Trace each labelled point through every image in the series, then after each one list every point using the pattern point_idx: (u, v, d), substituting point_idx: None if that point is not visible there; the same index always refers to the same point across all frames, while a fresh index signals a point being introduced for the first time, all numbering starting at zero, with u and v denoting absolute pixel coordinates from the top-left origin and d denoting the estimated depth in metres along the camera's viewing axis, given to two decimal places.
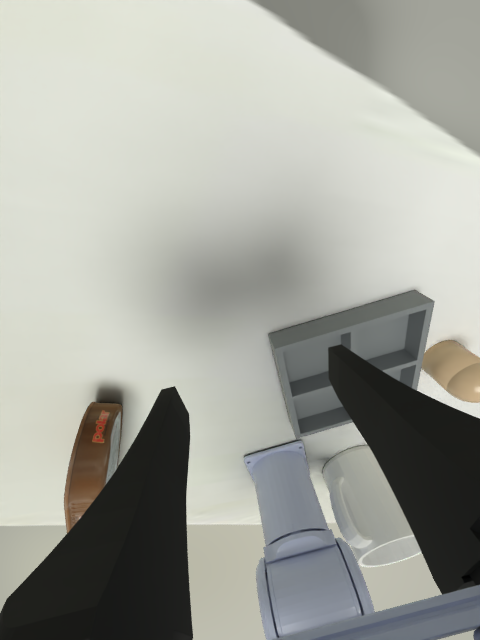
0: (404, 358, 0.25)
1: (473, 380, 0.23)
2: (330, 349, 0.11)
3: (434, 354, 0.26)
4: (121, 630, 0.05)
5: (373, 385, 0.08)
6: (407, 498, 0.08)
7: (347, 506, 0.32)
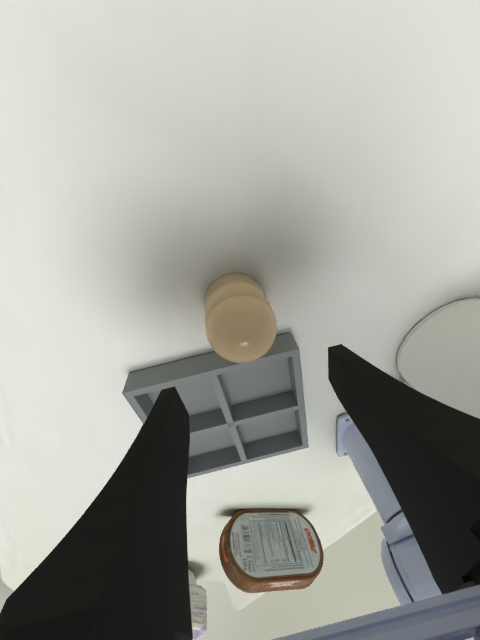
0: None
1: (222, 357, 0.15)
2: (330, 348, 0.11)
3: None
4: (121, 630, 0.05)
5: (373, 385, 0.08)
6: (407, 498, 0.08)
7: None
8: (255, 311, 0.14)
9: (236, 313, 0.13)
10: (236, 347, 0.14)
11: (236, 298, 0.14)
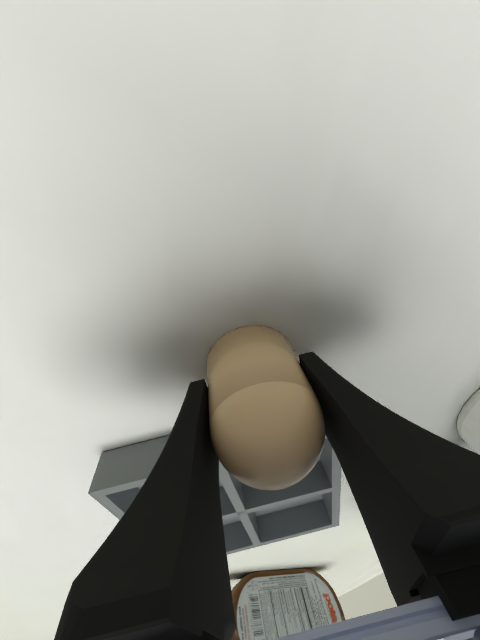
0: None
1: None
2: (300, 356, 0.11)
3: None
4: (188, 612, 0.05)
5: (334, 395, 0.08)
6: (366, 509, 0.08)
7: None
8: (296, 416, 0.08)
9: (264, 423, 0.08)
10: (264, 480, 0.08)
11: (261, 388, 0.08)
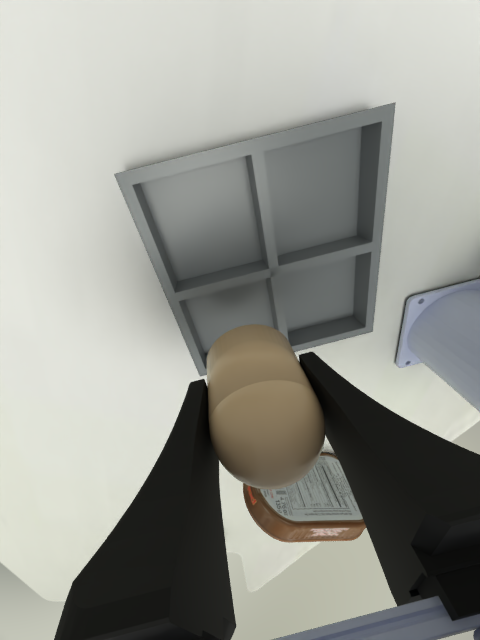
0: (252, 173, 0.13)
1: None
2: (300, 356, 0.11)
3: None
4: (188, 612, 0.05)
5: (334, 395, 0.08)
6: (366, 509, 0.08)
7: None
8: (296, 415, 0.08)
9: (264, 421, 0.08)
10: (264, 479, 0.08)
11: (262, 387, 0.08)
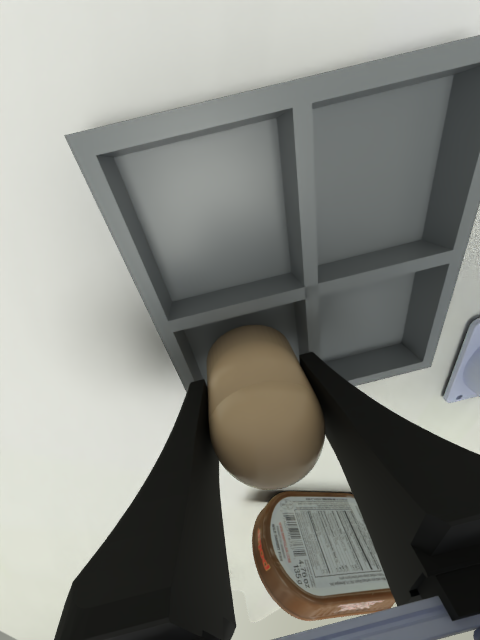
0: (288, 142, 0.08)
1: None
2: (300, 356, 0.11)
3: None
4: (189, 612, 0.05)
5: (334, 395, 0.08)
6: (366, 509, 0.08)
7: None
8: (296, 416, 0.08)
9: (264, 421, 0.08)
10: (263, 479, 0.08)
11: (262, 387, 0.08)
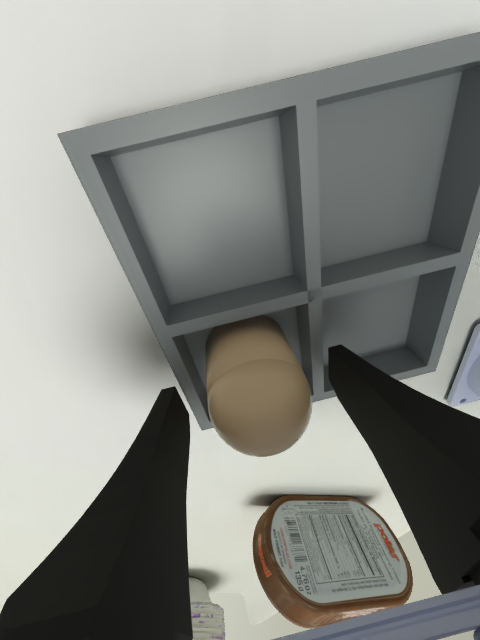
0: (291, 141, 0.08)
1: None
2: (330, 349, 0.11)
3: None
4: (121, 630, 0.05)
5: (373, 385, 0.08)
6: (407, 498, 0.08)
7: None
8: (284, 388, 0.09)
9: (256, 393, 0.09)
10: (255, 445, 0.09)
11: (254, 364, 0.09)
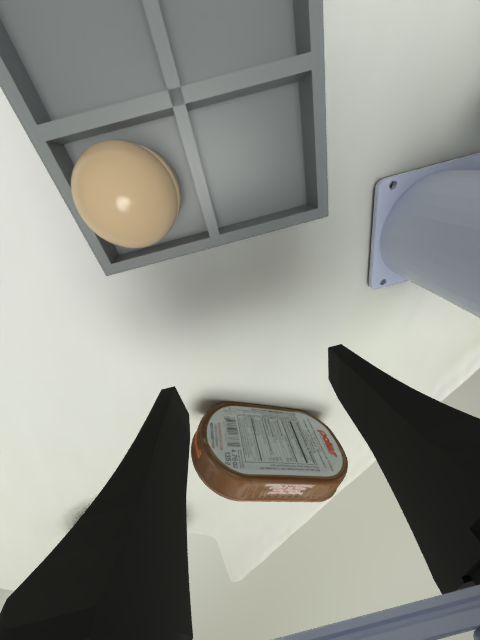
0: None
1: (99, 234, 0.11)
2: (330, 349, 0.11)
3: None
4: (121, 630, 0.05)
5: (373, 385, 0.08)
6: (407, 498, 0.08)
7: None
8: (126, 151, 0.10)
9: (97, 151, 0.09)
10: (99, 201, 0.10)
11: (106, 140, 0.10)
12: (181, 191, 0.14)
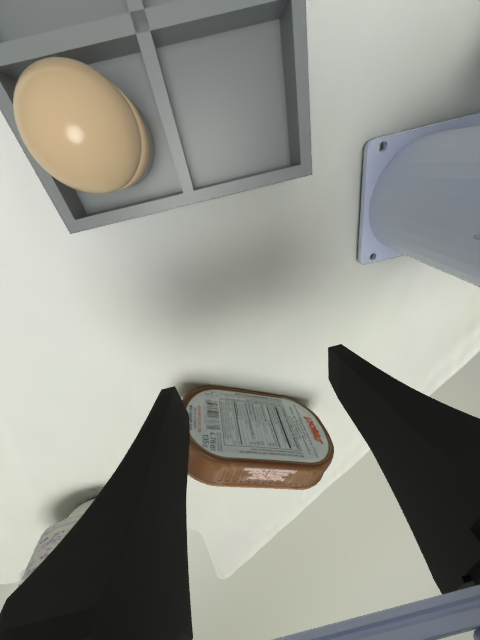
0: None
1: (49, 171, 0.10)
2: (330, 349, 0.11)
3: None
4: (121, 630, 0.05)
5: (373, 385, 0.08)
6: (407, 498, 0.08)
7: None
8: (74, 66, 0.08)
9: (38, 64, 0.08)
10: (41, 122, 0.08)
11: None
12: (152, 141, 0.13)
